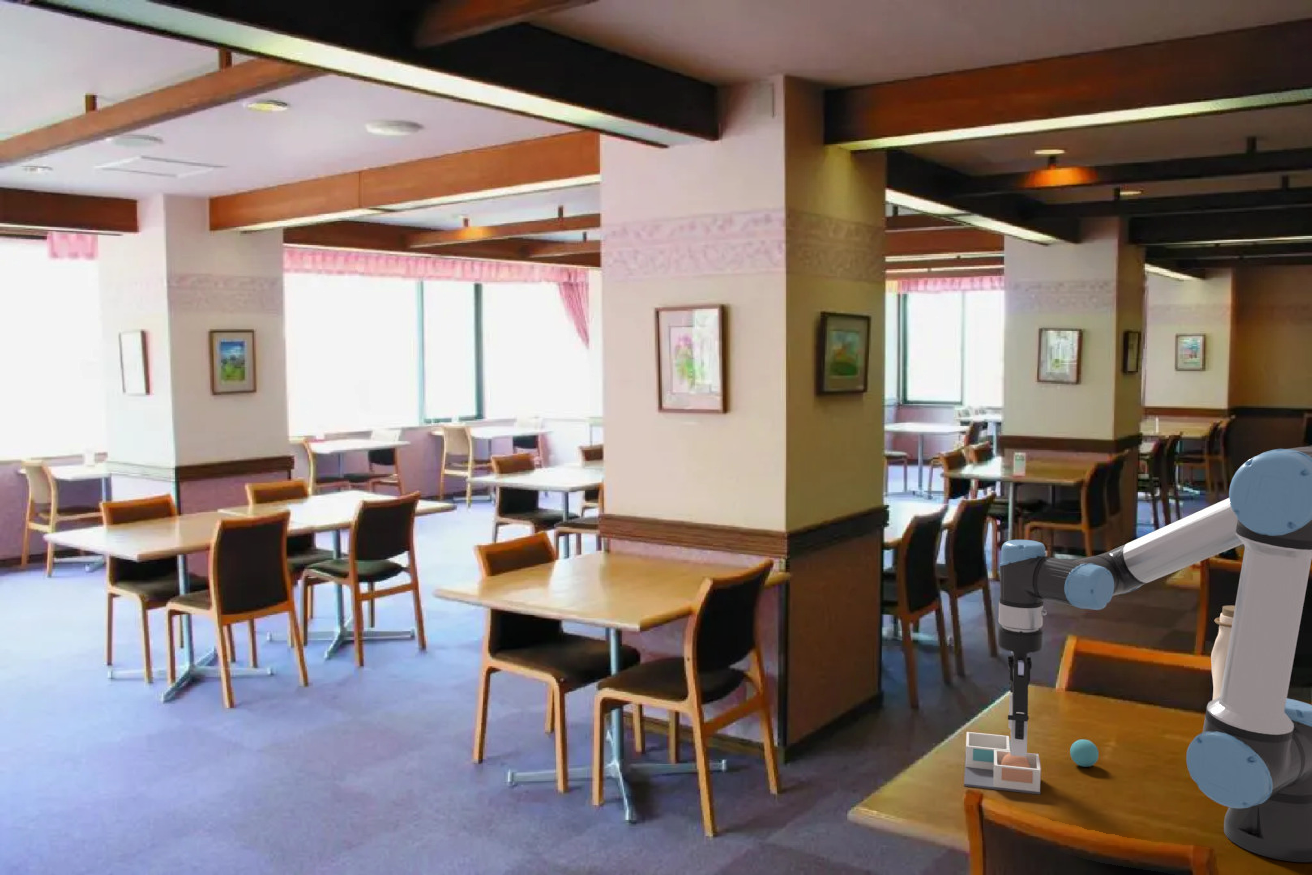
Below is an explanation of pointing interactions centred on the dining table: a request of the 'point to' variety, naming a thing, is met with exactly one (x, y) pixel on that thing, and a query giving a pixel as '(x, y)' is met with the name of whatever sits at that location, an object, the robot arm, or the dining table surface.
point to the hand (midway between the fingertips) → (1017, 741)
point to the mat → (984, 779)
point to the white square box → (1017, 773)
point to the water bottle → (1221, 648)
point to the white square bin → (984, 749)
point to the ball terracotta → (1015, 761)
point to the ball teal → (1084, 753)
